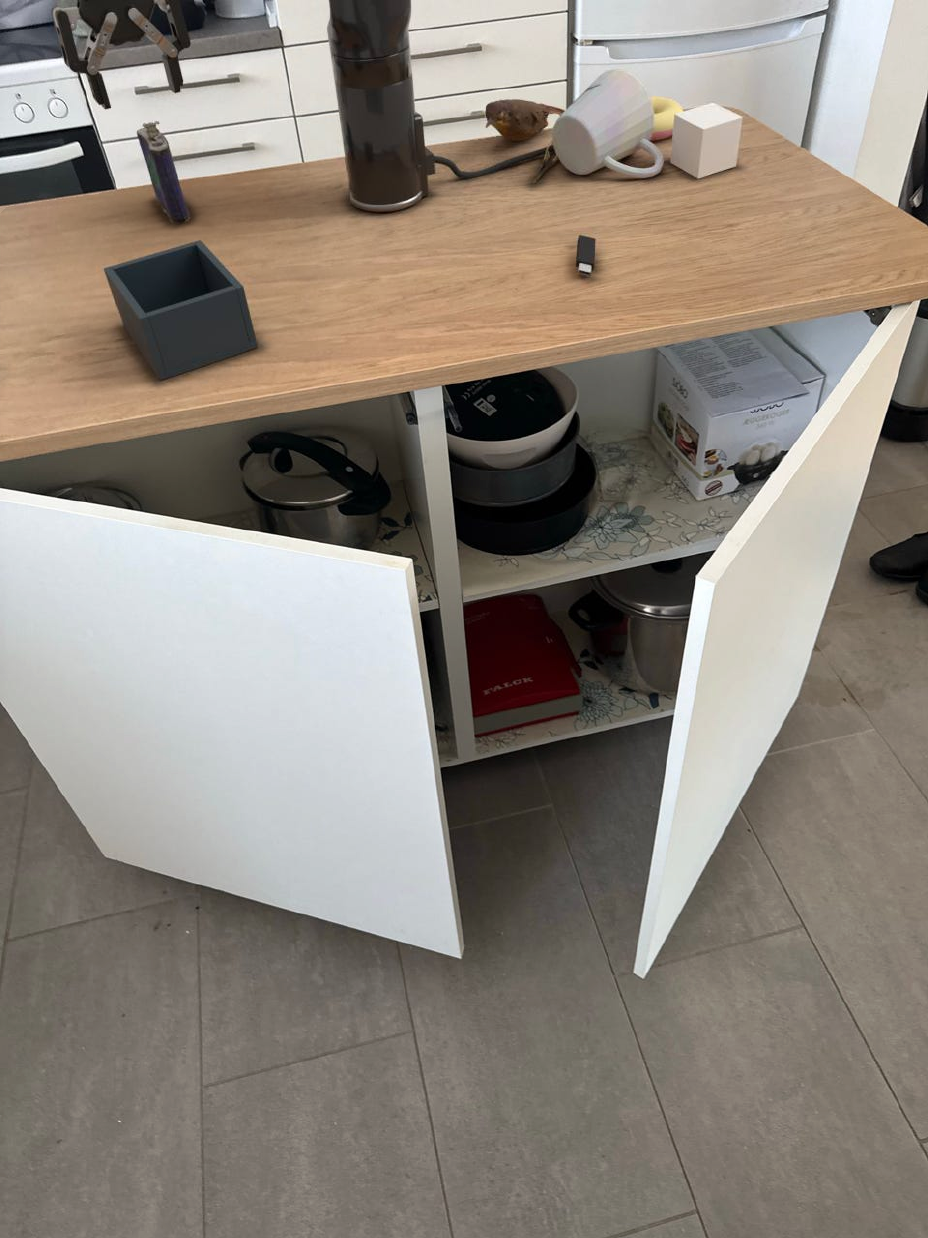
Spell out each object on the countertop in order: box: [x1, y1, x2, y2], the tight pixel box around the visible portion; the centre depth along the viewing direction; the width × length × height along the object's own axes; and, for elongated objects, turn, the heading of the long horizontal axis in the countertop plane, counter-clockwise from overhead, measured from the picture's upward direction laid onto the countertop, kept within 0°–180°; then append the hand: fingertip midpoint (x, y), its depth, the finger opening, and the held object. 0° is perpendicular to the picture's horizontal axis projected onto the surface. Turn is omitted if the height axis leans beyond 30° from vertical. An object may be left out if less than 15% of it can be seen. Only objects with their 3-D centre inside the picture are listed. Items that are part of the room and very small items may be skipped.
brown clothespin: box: [533, 140, 559, 184], centre depth 124 cm, size 12×3×1 cm, turn 157°
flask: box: [136, 120, 191, 225], centre depth 118 cm, size 9×3×11 cm, turn 27°
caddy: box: [103, 239, 259, 381], centre depth 97 cm, size 11×13×7 cm
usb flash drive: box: [575, 234, 597, 277], centre depth 106 cm, size 8×2×1 cm, turn 173°
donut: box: [649, 96, 685, 142], centre depth 130 cm, size 10×5×9 cm
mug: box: [551, 68, 665, 179], centre depth 121 cm, size 10×15×10 cm
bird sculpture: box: [484, 98, 566, 142], centre depth 131 cm, size 7×25×5 cm, turn 150°
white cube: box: [669, 102, 744, 179], centre depth 120 cm, size 6×6×6 cm
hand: (141, 98), depth 112 cm, fingers open, 8 cm apart
